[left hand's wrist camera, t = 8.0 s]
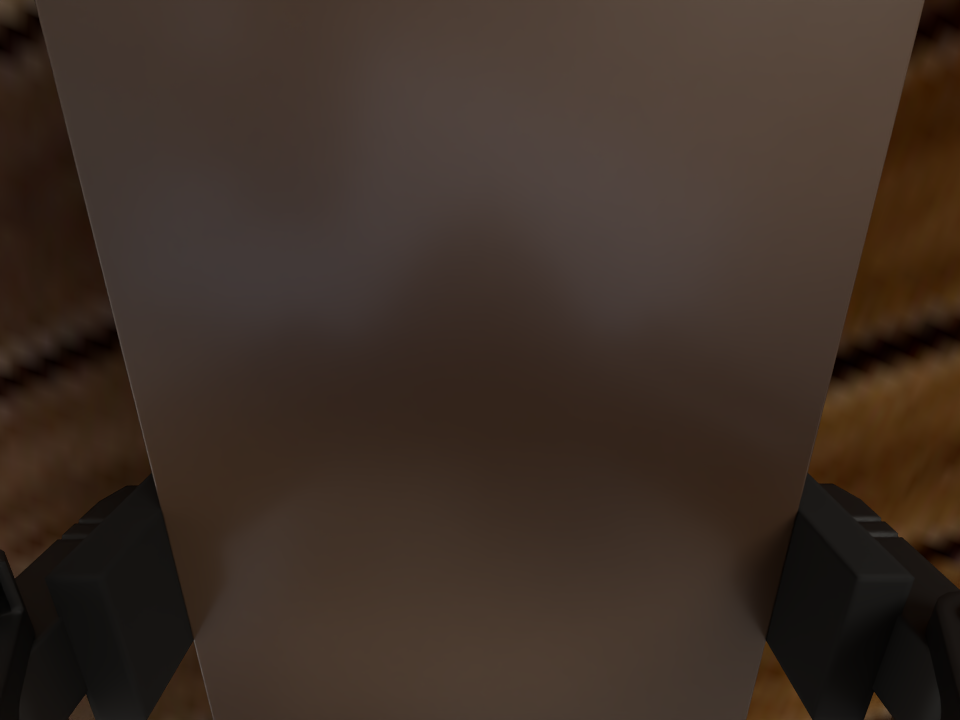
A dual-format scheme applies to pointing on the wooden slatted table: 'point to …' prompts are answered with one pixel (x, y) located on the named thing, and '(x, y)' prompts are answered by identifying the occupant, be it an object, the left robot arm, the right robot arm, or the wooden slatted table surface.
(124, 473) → the wooden slatted table surface
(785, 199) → the cabinet
